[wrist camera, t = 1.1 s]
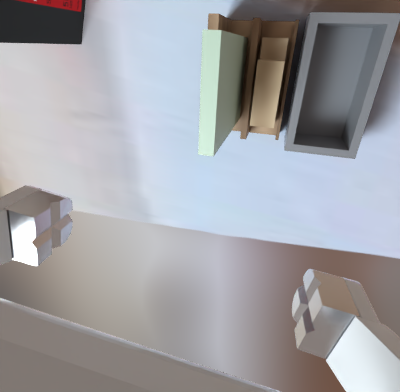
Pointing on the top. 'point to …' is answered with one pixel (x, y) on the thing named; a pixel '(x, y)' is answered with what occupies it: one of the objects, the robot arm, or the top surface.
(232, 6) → the top surface
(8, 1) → the cleaning product box
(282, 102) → the rack
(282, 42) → the offcut lower
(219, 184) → the top surface
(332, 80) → the bin
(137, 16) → the top surface
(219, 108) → the sheet
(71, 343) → the robot arm
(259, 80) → the offcut upper
